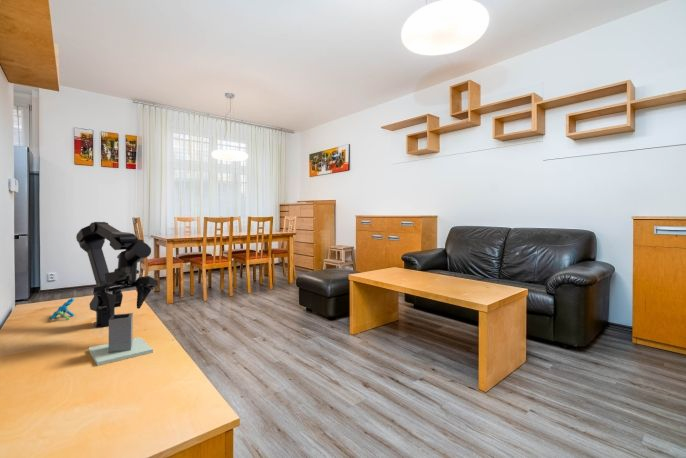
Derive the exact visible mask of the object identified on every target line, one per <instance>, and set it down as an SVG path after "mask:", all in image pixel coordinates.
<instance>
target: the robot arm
mask: <svg viewBox="0 0 686 458" xmlns="http://www.w3.org/2000/svg"><path fill="white" fill-rule="evenodd" d="M75 237H76V238H75V239H76V241H77V243H78V245H79V247H80V248H81V249H82V250H83V251H84V252H86V253H87V256H88V259H89V263H90V267H91V270H92V274H93V278H94V280H95V286H93V289H92V290H93V291H92V294H93V297H92V298H91V300H90V303H89V310H91V311H94V312H95V313H96V314H95V315H96V316H95V319H96V320H95V321H94V322H93V325H94V326H95V327H96V328H102V327H109V319H110V317H111V315H116V314H115V313H116V310H115V308H118V307H119V308H121V306H122V302H123V298H124V297H123V296H124V295H123V293H122V292H123V290H128V289H136V290H137V294H136V296H137V297H136V309H138V310H139V309H141V307H142V305H143V304H144V302H145V301H146V298H147V297H148V295H149V294H150V293H151V291H154V288H157V287H158V280H157V279H156V278H154V277H152V276H151V275H145V276H140V277H138V278H137V274H139V273H140V270H138V263H140V262H141V261H144V260H145V259H147V258H148V257H149V256H150V255H151V253H152V248H151V247H150V246H149V244H147V243H146V242H144V240H143V239H139V238H138V237H137V236H136V235H135V233H132V232H128V231H127V232H126V231H120V230H118V229H117V228H115V227H113V226H112V225H110V224H109V222H106V221H94V222H91V223H90V224H89V225H87V226H84V227H82V228H80V230H79V231H78V232H77V233H76V236H75ZM106 240H107V241H109V246H110V248H112V249H113V250H114V251H121V250H122V251H121V252H120V253H118V255H117V256H116V258H117V260H118V261H117V268H115V269H114V271H111V272H110V271H109V268H108V264H107V261H106V257H105V253H104V251H103V247H104V245H105V242H106Z"/></svg>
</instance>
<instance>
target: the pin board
mask: <svg viewBox="0 0 686 458" xmlns="http://www.w3.org/2000/svg"><path fill="white" fill-rule="evenodd" d="M88 353H89V354H90V356H91V357H92V359H93V360H94V363H95V365H97V366H99V367H100V366H102V365H107V364H111V363H115V362H119V361H123V360H127V359H130V358H136V357H140V356H143V355H148V354H152V353H154V349H153V347H151V345H149V343H148V342H146V341H145V340H144V339H143V338H142V337H141V336H138V337H134V338H133V337H132V347H131V350H130V351H122V352H115V353H109V342H108V343H104V344H100V345H93V346H90V347H88Z"/></svg>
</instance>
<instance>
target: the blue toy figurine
mask: <svg viewBox="0 0 686 458" xmlns="http://www.w3.org/2000/svg"><path fill="white" fill-rule="evenodd" d="M74 301H75V298H74V297H71V298H69V299H68V300H67V301H66V302H64V303H63V304H62V305H60V306H59V307H58V309H57V310H56V311H54V312H53V313H52V315H50V317H49V319H51V320H54V319H55V318H57V317H58V316H60V317H61V318H64V319H66V320H70V319H71V317H74V316H75V313H73V312H72V311H70V310H69V309H68V307H69V306H71V304H72V303H73V302H74ZM66 314H68V315H69V316H70V317H69V316H67V315H66Z"/></svg>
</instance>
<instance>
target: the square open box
mask: <svg viewBox="0 0 686 458" xmlns="http://www.w3.org/2000/svg"><path fill="white" fill-rule="evenodd" d="M133 317H134V313H132V312H131V313H130V312H129V313H120V314H119V313H118V314H117V313H116V314H115V315H111V317H110V319H109V326H108V343H109V353H115V352H122V351H130V350H131V347H132V338H133V330H134V329H133V323H134V322H133V321H134V319H133Z"/></svg>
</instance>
